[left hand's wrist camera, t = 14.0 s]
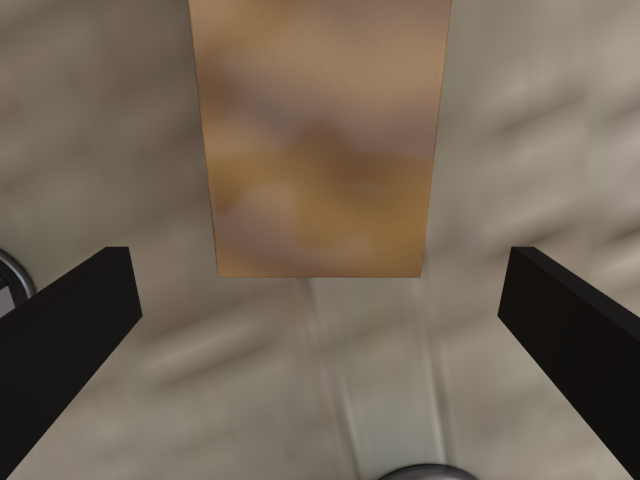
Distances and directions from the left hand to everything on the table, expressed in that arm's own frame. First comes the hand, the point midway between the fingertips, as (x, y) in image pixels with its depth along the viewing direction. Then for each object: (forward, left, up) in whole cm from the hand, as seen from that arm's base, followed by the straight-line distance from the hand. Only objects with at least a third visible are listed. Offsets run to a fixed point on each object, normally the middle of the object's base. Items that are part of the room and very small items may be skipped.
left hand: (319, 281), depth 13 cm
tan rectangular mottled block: (+3, +4, -17) cm, 18 cm away
